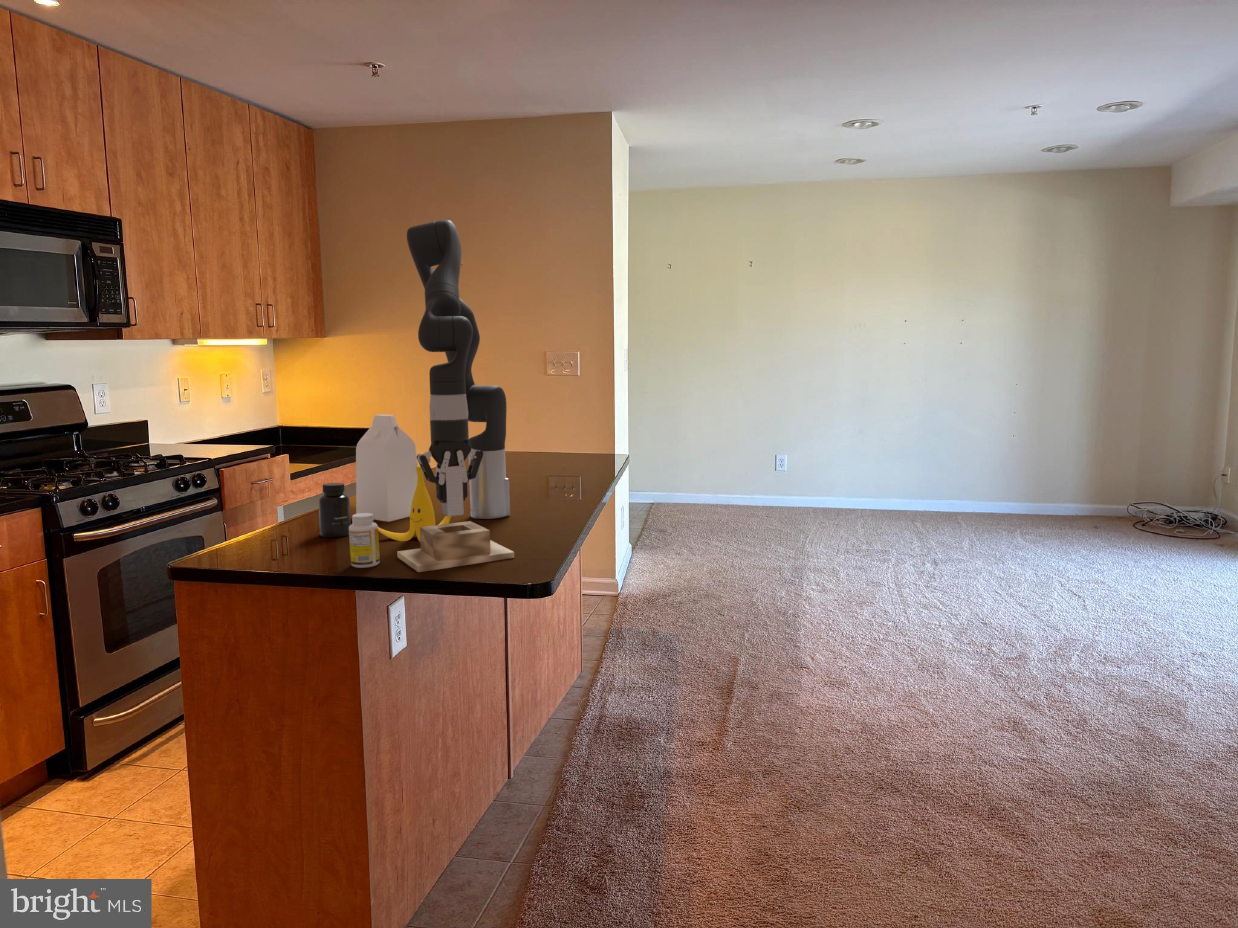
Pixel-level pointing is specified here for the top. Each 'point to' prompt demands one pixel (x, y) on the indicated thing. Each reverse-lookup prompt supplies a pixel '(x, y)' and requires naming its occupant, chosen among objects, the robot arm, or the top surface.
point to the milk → (385, 470)
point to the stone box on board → (453, 547)
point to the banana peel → (418, 512)
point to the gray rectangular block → (453, 491)
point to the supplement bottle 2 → (364, 541)
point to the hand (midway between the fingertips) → (452, 500)
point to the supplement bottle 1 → (334, 511)
